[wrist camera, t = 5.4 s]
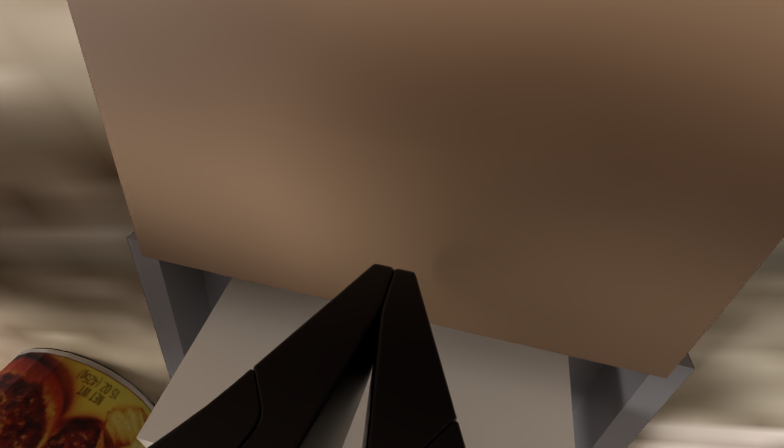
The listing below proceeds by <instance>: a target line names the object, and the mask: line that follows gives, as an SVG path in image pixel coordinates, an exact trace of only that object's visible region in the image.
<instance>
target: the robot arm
mask: <svg viewBox="0 0 784 448" xmlns="http://www.w3.org/2000/svg"><path fill="white" fill-rule="evenodd" d="M253 369H254V370H252V369H250V370H248V371H247V372H246V373H245V374H244V375H243V376H242V377H240V378H239V379H238V380H237V381H236V382H235V383H233V384H232V385H231V386H230V387H229V388H227V389H226V390H225V391H224V392H222V393H221V394H220V395H219V396H217V397H216V398H215V399H214V400H212V401H211V402H210V403H209V404H207V405H206V406H205V407H203V408H202V409H201V410H199V411H198V412H197V413H195V414H194V415H192V416H191V417H190V418H188V419H187V420H186V421H184V422H183V423H181V424H180V425H179V426H177V427H176V428H175V429H173V430H172V431H170V432H169V433H167V434H166V435H165V436H163V437H162V438H160V439H159V440H157V441H156V442H154V443H153V444H152V445H150V446H149V447H147V448H342V447H343V444H344V442H345V439H346V437H347V434H348V432H349V429H350V426H351V424H352V421H353V419H354V416H355V414H356V411H357V409H358V406H359V403H360V401H361V398H362V396H363V393H364V391H365V388H366V385H367V383H368V380H369V377H370V374H371V380H370V386H369V394H368V402H367V410H366V419H365V427H364V435H363V443H362V448H466V447H465V443H464V440H463V436H462V433H461V429H460V426H459V423H458V422H457V421H456V420H457V416H456V413H455V409H454V406H453V402H452V399H451V395H450V392H449V388H448V385H447V381H446V378H445V374H444V371H443V367H442V364H441V360H440V357H439V353H438V350H437V347H436V343H435V340H434V336H433V333H432V329H431V326H430V322H429V319H428V315H427V312H426V308H425V305H424V301H423V298H422V294H421V291H420V287H419V284H418V280H417V277H416V274H415V273H414V272H412V271H408V270H403V269H399V268H397V269H395V270H394V269H393V268H392V267H390V266H385V265H381V264H373V265H372V266H370V267H369V268H368V269H367V270H366V271H365V272H363V273H362V274H361V275H360V276H359V277H358V278H356V279H355V280H354V281H353V282H352V283H351V284H349V285H348V286H347V287H346V288H345V289H344V290H342V291H341V292H340V293H339V294H338V295H337V296H335V297H334V298H333V299H332V300H331V301H330V302H328V303H327V304H326V305H325V306H324V307H323V308H321V309H320V310H319V311H318V312H317V313H316V314H314V315H313V316H312V317H311V318H310V319H308V320H307V321H306V322H305V323H304V324H303V325H301V326H300V327H299V328H298V329H297V330H296V331H294V332H293V333H292V334H291V335H290V336H289V337H287V338H286V339H285V340H284V341H283V342H282V343H280V344H279V345H278V346H277V347H276V348H275V349H273V350H272V351H271V352H270V353H269V354H268V355H266V356H265V357H264V358H263V359H262V360H261V361H259V362H258V363H257V364H256V365H255V366H254V367H253ZM371 371H372V373H371Z"/></svg>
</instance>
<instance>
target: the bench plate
mask: <svg viewBox="0 0 784 448" xmlns="http://www.w3.org/2000/svg"><path fill="white" fill-rule="evenodd" d="M67 2H68V5H69V9H70V12H71V16H72V19H73V22H74V26H75V29H76V33H77V36H78V39H79V43H80V46H81V50H82V53H83V57H84V60H85V63H86V67H87V70H88V74H89V77H90V80H91V84H92V87H93V91H94V94H95V97H96V101H97V104H98V108H99V111H100V114H101V118H102V121H103V125H104V128H105V131H106V135H107V138H108V142H109V145H110V149H111V152H112V155H113V159H114V162H115V166H116V169H117V172H118V176H119V179H120V183H121V186H122V189H123V193H124V196H125V200H126V203H127V206H128V210H129V213H130V217H131V220H132V224H133V227H134V230H135V234H136V237H137V241H138V244H139V247H140V251H141V254H142V256H144V257H148V258H152V259H157V260H161V261H165V262H170V263H174V264H178V265H182V266H187V267H191V268H195V269H200V270H204V271H208V272H212V273H217V274H221V275H225V276H230V277H234V278H238V279H242V280H247V281H251V282H255V283H260V284H264V285H268V286H272V287H277V288H281V289H285V290H290V291H294V292H298V293H302V294H307V295H311V296H315V297H319V298H324V299H328V300H332V299H333V298H334V297H335V296H337V295H338V294H339V293H340V292H341V291H342V290H344V289H345V288H346V287H347V286H348V285H349V284H351V283H352V282H353V281H354V280H355V279H356V278H358V277H359V276H360V275H361V274H362V273H363V272H365V271H366V270H367V269H368V268H369V267H370V266H372V265H373V264H381V265H385V266H390V267H392V268H393V269H394V270H395V269H397V268H399V269H403V270H408V271H412V272H414V273H415V274H416V277H417V280H418V284H419V287H420V291H421V294H422V298H423V301H424V305H425V308H426V312H427V315H428V319H429V322H430V323H431V324H435V325H439V326H444V327H448V328H452V329H457V330H461V331H465V332H469V333H474V334H478V335H482V336H486V337H491V338H495V339H499V340H504V341H508V342H512V343H516V344H521V345H525V346H529V347H534V348H538V349H542V350H546V351H551V352H555V353H559V354H564V355H568V356H572V357H576V358H581V359H585V360H589V361H594V362H598V363H602V364H606V365H611V366H615V367H619V368H624V369H628V370H632V371H636V372H641V373H645V374H649V375H653V376H658V377H662V378H666V379H667V377H668V376H669V375H670V374H671V373H672V371H673V370H674V369H675V368H676V366H677V365H678V364H679V363H680V362H681V360H682V359H683V358H684V357H685V356H686V354H687V353H688V352H689V351H690V350H691V348H692V347H693V346H694V345H695V343H696V342H697V341H698V340H699V339H700V337H701V336H702V335H703V334H704V333H705V331H706V330H707V329H708V328H709V327H710V325H711V324H712V323H713V322H714V320H715V319H716V318H717V317H718V316H719V314H720V313H721V312H722V311H723V310H724V308H725V307H726V306H727V305H728V304H729V302H730V301H731V300H732V299H733V297H734V296H735V295H736V294H737V293H738V291H739V290H740V289H741V288H742V287H743V285H744V284H745V283H746V282H747V281H748V279H749V278H750V277H751V276H752V274H753V273H754V272H755V271H756V270H757V268H758V267H759V266H760V265H761V264H762V262H763V261H764V260H765V259H766V258H767V256H768V255H769V254H770V253H771V251H772V250H773V249H774V248H775V247H776V245H777V244H778V243H779V242H780V241H781V239H782V238H783V237H784V0H67Z"/></svg>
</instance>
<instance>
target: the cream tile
mask: <svg viewBox="0 0 784 448" xmlns="http://www.w3.org/2000/svg"><path fill="white" fill-rule="evenodd" d="M330 301H331V300H328V299H324V298H319V297H315V296H311V295H307V294H302V293H298V292H294V291H290V290H285V289H281V288H277V287H272V286H268V285H264V284H260V283H255V282H251V281H247V280H242V279H238V278H234V277H232V279H231V280H230V282H229V284H228V285H227V287H226V289H225V290H224V292H223V294H222V295H221V297H220V299H219V300H218V302H217V304H216V305H215V307H214V309H213V310H212V312H211V314H210V315H209V317H208V319H207V320H206V322H205V324H204V325H203V327H202V329H201V330H200V332H199V334H198V335H197V337H196V339H195V340H194V342H193V344H192V345H191V347H190V349H189V350H188V352H187V354H186V355H185V357H184V359H183V360H182V362H181V364H180V365H179V367H178V369H177V370H176V372H175V374H174V375H173V377H172V379H171V380H170V382H169V384H168V385H167V387H166V389H165V390H164V392H163V394H162V395H161V397H160V399H159V400H158V402H157V404H156V405H155V407H154V409H153V410H152V412H151V414H150V415H149V417H148V419H147V420H146V422H145V424H144V425H143V427H142V429H141V430H140V432H139V434H138V435H137V437H136V438H137V439H138V440H139V441H140V442H141V443H142V444H143V445H144V446H145V447H146V448H147V447H149V446H150V445H152V444H153V443H154V442H156V441H157V440H159V439H160V438H162V437H163V436H165V435H166V434H167V433H169V432H170V431H172V430H173V429H175V428H176V427H177V426H179V425H180V424H181V423H183V422H184V421H186V420H187V419H188V418H190V417H191V416H192V415H194V414H195V413H197V412H198V411H199V410H201V409H202V408H203V407H205V406H206V405H207V404H209V403H210V402H211V401H212V400H214V399H215V398H216V397H217V396H219V395H220V394H221V393H222V392H224V391H225V390H226V389H227V388H229V387H230V386H231V385H232V384H233V383H235V382H236V381H237V380H238V379H239V378H240V377H242V376H243V375H244V374H245V373H246V372H247V371H248V370H250V369H252V370H254V369H253V367H254V366H255V365H256V364H257V363H258V362H259V361H261V360H262V359H263V358H264V357H265V356H266V355H268V354H269V353H270V352H271V351H272V350H273V349H275V348H276V347H277V346H278V345H279V344H280V343H282V342H283V341H284V340H285V339H286V338H287V337H289V336H290V335H291V334H292V333H293V332H294V331H296V330H297V329H298V328H299V327H300V326H301V325H303V324H304V323H305V322H306V321H307V320H308V319H310V318H311V317H312V316H313V315H314V314H316V313H317V312H318V311H319V310H320V309H321V308H323V307H324V306H325V305H326V304H327V303H328V302H330ZM430 326H431V329H432V333H433V336H434V340H435V343H436V347H437V350H438V353H439V357H440V360H441V364H442V367H443V371H444V374H445V378H446V381H447V385H448V388H449V392H450V395H451V399H452V402H453V406H454V409H455V413H456V416H457V420H456V421H457V422H458V423H459V426H460V429H461V433H462V436H463V440H464V443H465V447H466V448H575V441H574V427H573V414H572V400H571V387H570V373H569V360H568V355H564V354H559V353H555V352H551V351H546V350H542V349H538V348H534V347H529V346H525V345H521V344H516V343H512V342H508V341H504V340H499V339H495V338H491V337H486V336H482V335H478V334H474V333H469V332H465V331H461V330H457V329H452V328H448V327H444V326H439V325H435V324H431V323H430ZM371 373H372V371H371ZM370 380H371V374H370V377H369V380H368V383H367V385H366V388H365V391H364V393H363V396H362V398H361V401H360V403H359V406H358V409H357V411H356V414H355V416H354V419H353V421H352V424H351V426H350V429H349V432H348V434H347V437H346V439H345V442H344V444H343V447H342V448H362V443H363V435H364V427H365V419H366V410H367V402H368V394H369V386H370Z"/></svg>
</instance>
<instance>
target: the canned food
mask: <svg viewBox="0 0 784 448" xmlns="http://www.w3.org/2000/svg"><path fill="white" fill-rule="evenodd" d="M153 409H154V405H153V404H152V403H151V402H150V401H149V399H148V398H147V397H146V396H145V395H144V394H143V393H141V392H140V391H139V390H138V389H137V388H136V387H134V386H133V385H132V384H131V383H129V382H128V381H126V380H125V379H123V378H122V377H120V376H119V375H117V374H116V373H114V372H113V371H111V370H109V369H107V368H105V367H103V366H101V365H99V364H97V363H95V362H93V361H91V360H88V359H85V358H83V357H80V356H77V355H75V354H72V353H68V352H63V351H59V350H54V349H31V350H28V351H24V352H22V353H20V354H19V355H18V356H17V357H16V358H15V359H14V360H13V361H12V362H10V363H9V364H8V365H7V366H6V367H5V368H4V369H3V370H2V371H1V372H0V448H146V447H145V446H144V445H143V444H142V443H141V442H140V441H139V440H138V439H137V438H136V437H137V435H138V434H139V432H140V430H141V429H142V427H143V425H144V424H145V422H146V420H147V419H148V417H149V415H150V414H151V412H152V410H153Z"/></svg>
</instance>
